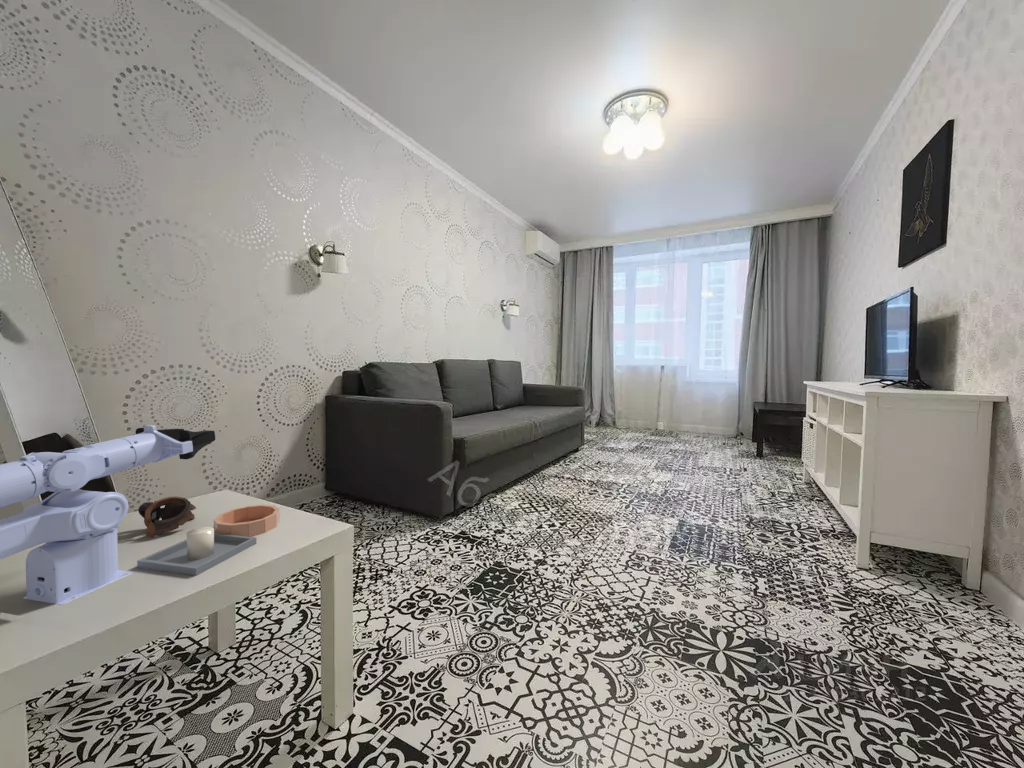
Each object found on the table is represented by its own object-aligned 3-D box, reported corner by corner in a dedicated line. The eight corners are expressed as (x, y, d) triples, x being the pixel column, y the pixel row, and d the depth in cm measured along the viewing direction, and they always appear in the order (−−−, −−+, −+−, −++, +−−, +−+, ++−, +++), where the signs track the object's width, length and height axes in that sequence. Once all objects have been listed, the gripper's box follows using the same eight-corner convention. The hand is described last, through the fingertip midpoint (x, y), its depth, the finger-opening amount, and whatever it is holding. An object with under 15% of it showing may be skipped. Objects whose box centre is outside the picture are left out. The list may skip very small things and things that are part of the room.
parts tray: (196, 579, 66) (196, 568, 66) (137, 570, 69) (137, 560, 69) (256, 546, 79) (256, 537, 79) (204, 540, 81) (204, 531, 81)
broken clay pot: (209, 522, 92) (205, 497, 88) (175, 557, 83) (169, 531, 79) (158, 508, 91) (151, 483, 87) (119, 542, 83) (109, 516, 79)
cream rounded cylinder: (199, 560, 71) (199, 536, 71) (181, 558, 72) (180, 534, 72) (219, 550, 75) (219, 527, 75) (202, 548, 76) (201, 525, 76)
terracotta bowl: (248, 544, 80) (248, 527, 79) (200, 538, 82) (200, 521, 82) (290, 522, 91) (290, 507, 91) (247, 517, 93) (247, 503, 93)
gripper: (154, 433, 67) (225, 417, 80) (87, 429, 69) (167, 414, 83) (158, 473, 68) (228, 450, 81) (93, 467, 70) (171, 446, 84)
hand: (198, 434), depth 82 cm, fingers open, 7 cm apart
